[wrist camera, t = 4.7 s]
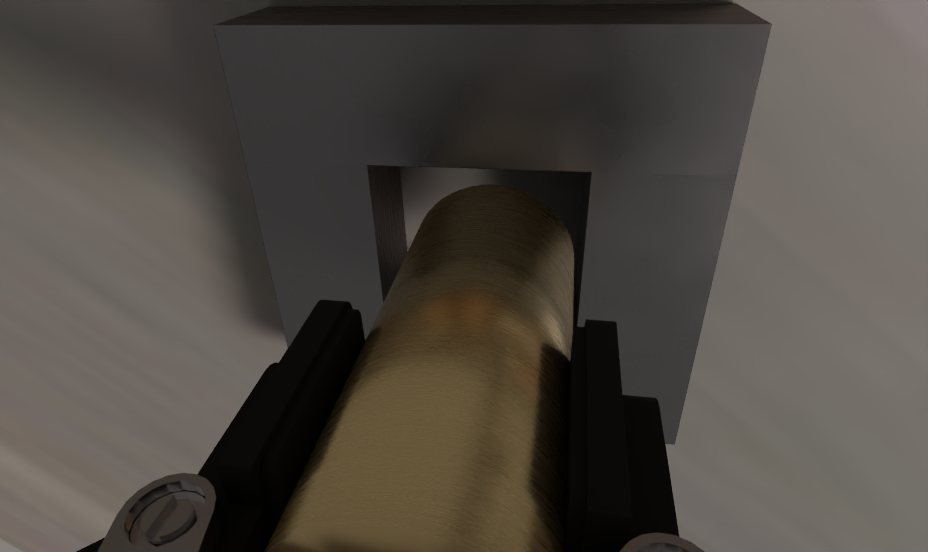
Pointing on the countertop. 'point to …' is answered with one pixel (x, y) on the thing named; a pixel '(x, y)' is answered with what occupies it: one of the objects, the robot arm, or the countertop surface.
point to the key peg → (453, 395)
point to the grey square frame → (503, 147)
